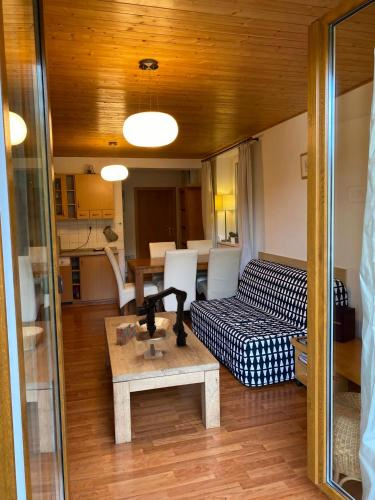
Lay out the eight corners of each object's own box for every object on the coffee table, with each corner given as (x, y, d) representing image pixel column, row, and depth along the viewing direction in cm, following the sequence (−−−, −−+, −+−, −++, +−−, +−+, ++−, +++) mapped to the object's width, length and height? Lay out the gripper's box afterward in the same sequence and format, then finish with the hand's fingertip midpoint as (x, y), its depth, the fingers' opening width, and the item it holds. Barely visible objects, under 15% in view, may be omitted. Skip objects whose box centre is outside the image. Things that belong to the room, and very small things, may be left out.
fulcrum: (160, 350, 273) (160, 342, 273) (162, 358, 260) (162, 349, 259) (143, 351, 271) (142, 344, 271) (144, 359, 258) (144, 351, 257)
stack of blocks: (129, 334, 309) (128, 319, 308) (136, 335, 307) (135, 320, 306) (116, 344, 289) (115, 327, 287) (124, 344, 287) (123, 328, 285)
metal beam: (163, 335, 275) (163, 328, 275) (165, 336, 272) (165, 329, 271) (136, 339, 267) (136, 332, 266) (138, 341, 263) (137, 334, 263)
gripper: (138, 311, 275) (138, 333, 277) (139, 318, 257) (139, 341, 259) (154, 310, 277) (154, 332, 279) (156, 317, 259) (156, 340, 260)
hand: (151, 336), depth 269 cm, fingers closed on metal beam, 5 cm apart
